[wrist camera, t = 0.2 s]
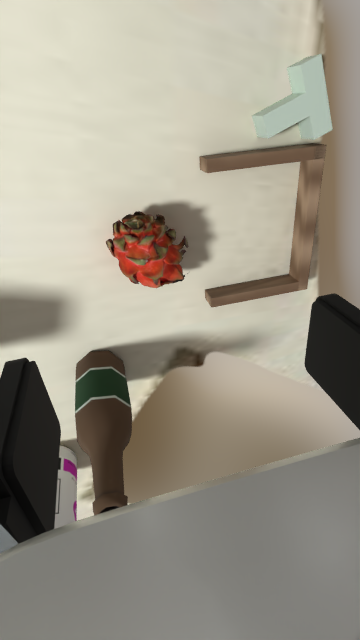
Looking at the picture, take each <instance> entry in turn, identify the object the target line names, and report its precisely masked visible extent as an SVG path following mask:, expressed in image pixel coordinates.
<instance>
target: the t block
mask: <svg viewBox="0 0 360 640" xmlns="http://www.w3.org/2000/svg"><path fill="white" fill-rule="evenodd" d="M287 70H288V75H289V80H290V85H291V90H292V94H291V95H289V96H287V97H285V98H284V99H282V100H280V101H278V102H276V103H274V104H273V105H271V106H269V107H267V108H265V109H263V110H262V111H260V112H258V113H256V114H254V115H252V118H253V122H254V126H255V129H256V133H257V137H262V138H270V137H272V136H274V135H275V134H277V133H279V132H281V131H283V130H285V129H287V128H288V127H290V126H292V125H294V124H296V123H298V125H299V130H300V135H301V138H304V139H313V140H315V139H316V138H318V137H320V136H322V135H324V134H326V133H328V132H329V131H331V130H333V129H332V122H331V116H330V109H329V102H328V96H327V89H326V82H325V76H324V69H323V62H322V56H321V54H318V55H314V56H310V57H306V58H304V59H303V60H301V61H299V62H297V63H295V64H293V65H292V66H290V67H288V68H287Z"/></svg>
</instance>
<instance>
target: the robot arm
mask: <svg viewBox="0 0 360 640" xmlns="http://www.w3.org/2000/svg"><path fill="white" fill-rule="evenodd" d="M305 367H306V370H307V372H308V373H309V374H310V375H311V376H312V377H313V379H314V380H315V381H316V382H317V383H318V384H319V385H320V386H321V387H322V389H323V390H324V391H325V392H326V393H327V394H328V395H329V396H330V397H331V399H332V400H333V401H334V402H335V403H336V404H337V405H338V406H339V408H340V409H341V410H342V411H343V412H344V413H345V414H346V415H347V416H348V418H349V419H350V420H351V421H352V422H353V423H354V424H355V425H356V426H357V427H358V429H359V430H360V310H359V309H358V308H357V307H355V306H354V305H352V304H351V303H349V302H348V301H346V300H345V299H343V298H342V297H340V296H339V295H337V294H329V295H324V296H319V297H318V298H317V299H316V301H315V302H313V304H312V309H311V317H310V325H309V332H308V340H307V348H306V356H305ZM60 436H61V430H60V424H59V421H58V418H57V415H56V413H55V410H54V408H53V405H52V403H51V400H50V398H49V395H48V392H47V390H46V387H45V385H44V382H43V380H42V377H41V375H40V372H39V369H38V367H37V364H36V362H35V361H31V362H29V360H28V359H27V358H22V359H17V360H12V361H8V362H6V363H5V365H4V368H3V371H2V375H1V378H0V640H360V438H358V439H354V440H350V441H347V442H343V443H339V444H336V445H332V446H329V447H325V448H322V449H318V450H315V451H311V452H308V453H305V454H301V455H297V456H294V457H290V458H287V459H284V460H280V461H276V462H273V463H269V464H266V465H263V466H260V467H256V468H252V469H249V470H245V471H242V472H238V473H235V474H232V475H228V476H225V477H221V478H218V479H214V480H211V481H208V482H204V483H201V484H197V485H194V486H191V487H187V488H184V489H180V490H177V491H174V492H170V493H167V494H163V495H160V496H157V497H153V498H150V499H146V500H143V501H140V502H136V503H133V504H130V505H126V506H123V507H120V508H117V509H114V510H110V511H107V512H104V513H101V514H98V515H94V516H91V517H88V518H85V519H82V520H78V521H75V522H72V523H70V524H67V525H64V526H61V527H58V528H56V529H54V525H55V510H56V495H57V481H58V466H59V451H60Z"/></svg>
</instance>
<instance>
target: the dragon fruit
mask: <svg viewBox="0 0 360 640" xmlns="http://www.w3.org/2000/svg"><path fill="white" fill-rule="evenodd" d="M156 216H157V218H156V220H155V219H154V217H153V216H152V215H147V216H146V215H145V214H144V213H143V212H135V213H134V215H130V214H129V215H126V216H125V217H124V218H123V219H122V222H123V223H122V222H121V221H120V220H119V221H117V222H116V223H114V224H113V235H114V237H115V238H114V239H113V241H112V240H111V239H108V240H107V241H106V244H107V247H108V248H109V250H110V252H111V254H112V255H113V256H114V257H116V258H117V259H118V260H119V267H120V269H121V271H122V273H123V274H124V275H125V276H127V277H129V279H130V281H131V282H133V283H135V284H136V283H137V284H139V283H138V282H140V283H141V284H142V285H144V286H148V287H152V288H158V287H161V286H163V285H164V284H170V283H175V282H178V281H183V280H184V277H185V275H183V271H182V267H181V266H180V265H179V262H180V261H181V260H182V259H183V257H182V255H183V254H184V253H185V252H186V250H182V251H181V252H179V250H180V249H182V248H183V246H184V245H185V246H186V247H187V248H188V242H187V240H186V238H185V236H184V238H183V240H182V241H181V242H180V244H178V245H173V244H172V243H173V242H174V240H175V238H176V231H175V230H174V229H169V230H167V228H168V227H167V226H166V225H165V222H164V220H165V219H164V217H163V216H162V215H159V214H158V215H156ZM166 230H167V231H166ZM189 272H190V271H189Z"/></svg>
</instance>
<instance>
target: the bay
mask: <svg viewBox="0 0 360 640" xmlns="http://www.w3.org/2000/svg"><path fill="white" fill-rule="evenodd" d="M325 151H326V145H322V144H314V143H311V144H303V145H294V146H285V147H277V148H268V149H260V150H251V151H243V152H234V153H226V154H217V155H209V156H200V170H202V171H204V172H206V173H212V172H219V171H227V170H235V169H243V168H251V167H259V166H267V165H275V164H283V163H291V162H299V161H301V163H300V172H299V182H298V192H297V202H296V212H295V222H294V232H293V242H292V251H291V261H290V271H289V274H288V275H282V276H277V277H271V278H266V279H261V280H255V281H250V282H244V283H239V284H233V285H228V286H223V287H217V288H212V289H206V290H205V298H206V300H207V301H208V303H209V304H210V306H211V307H217V306H222V305H227V304H232V303H237V302H242V301H248V300H253V299H258V298H263V297H268V296H273V295H279V294H284V293H289V292H294V291H299V290H304V289H307V285H308V277H309V270H310V263H311V255H312V248H313V240H314V233H315V225H316V218H317V211H318V203H319V196H320V188H321V181H322V173H323V166H324V158H325Z"/></svg>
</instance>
